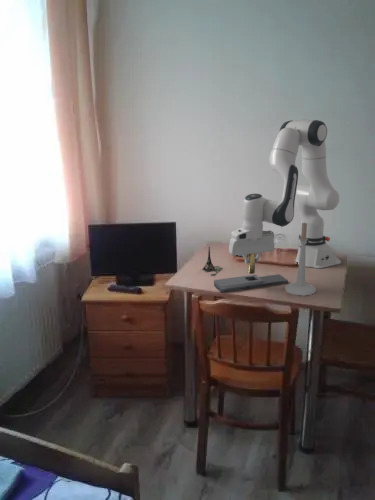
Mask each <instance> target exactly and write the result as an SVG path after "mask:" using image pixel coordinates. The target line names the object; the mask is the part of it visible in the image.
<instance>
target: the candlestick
mask: <svg viewBox="0 0 375 500" xmlns="http://www.w3.org/2000/svg"><path fill="white" fill-rule="evenodd" d="M306 232H307V223H305V222H304V223H302V233H301V238H299V237H298V240H299V239H300V243H301V247H300V248H301V249H300V258H299V264H298V268H297V277H296V281H295V282H291V283H289V284H288V283H287V285H286V286H285V287H284V288H285V289H284V291H286V293H288V294H291V295H293V294H294V295H293V296H297V295H302V296H301V297H306V296H305V295H310V296H313V295H315V294H316V293H317V288H316V287H315V286H314V285H312V284H310V283H307V282H306V266H305V248H306V247H305V245H306V243H307V240H308V239H307V238H306ZM315 292H316V293H315ZM314 293H315V294H314ZM312 294H313V295H312Z"/></svg>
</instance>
